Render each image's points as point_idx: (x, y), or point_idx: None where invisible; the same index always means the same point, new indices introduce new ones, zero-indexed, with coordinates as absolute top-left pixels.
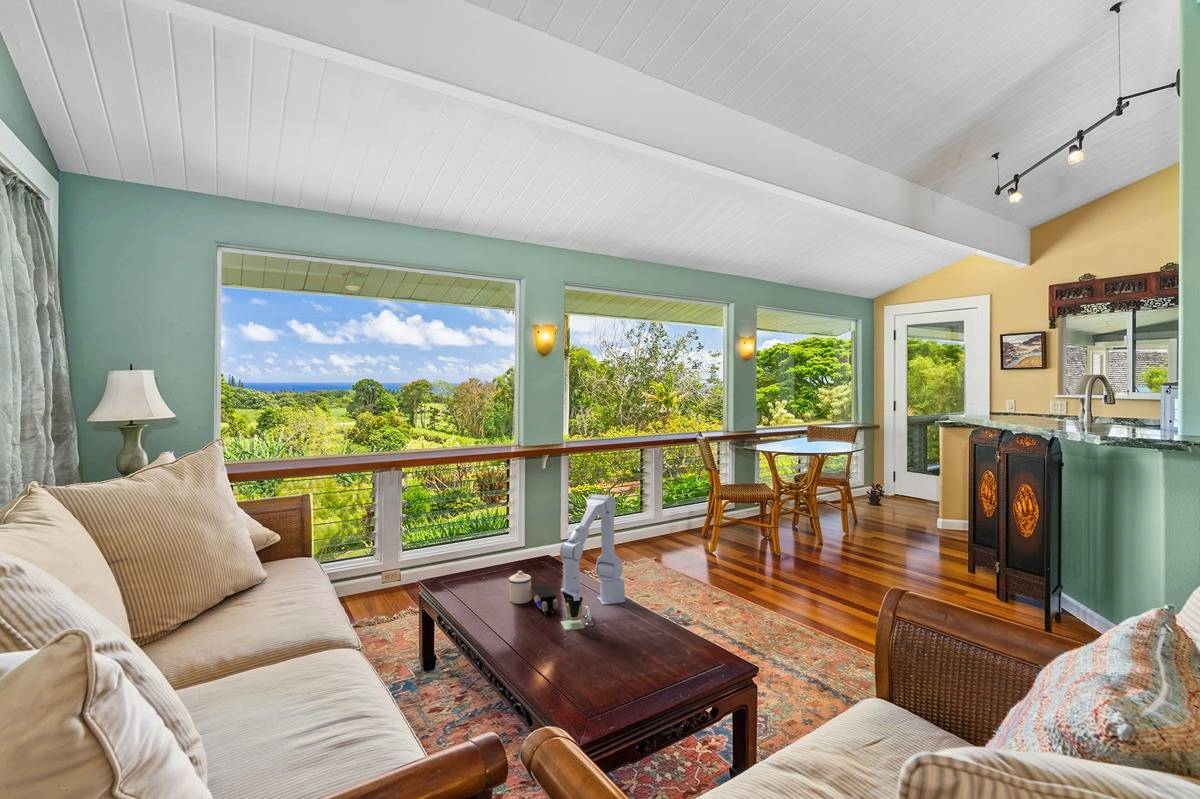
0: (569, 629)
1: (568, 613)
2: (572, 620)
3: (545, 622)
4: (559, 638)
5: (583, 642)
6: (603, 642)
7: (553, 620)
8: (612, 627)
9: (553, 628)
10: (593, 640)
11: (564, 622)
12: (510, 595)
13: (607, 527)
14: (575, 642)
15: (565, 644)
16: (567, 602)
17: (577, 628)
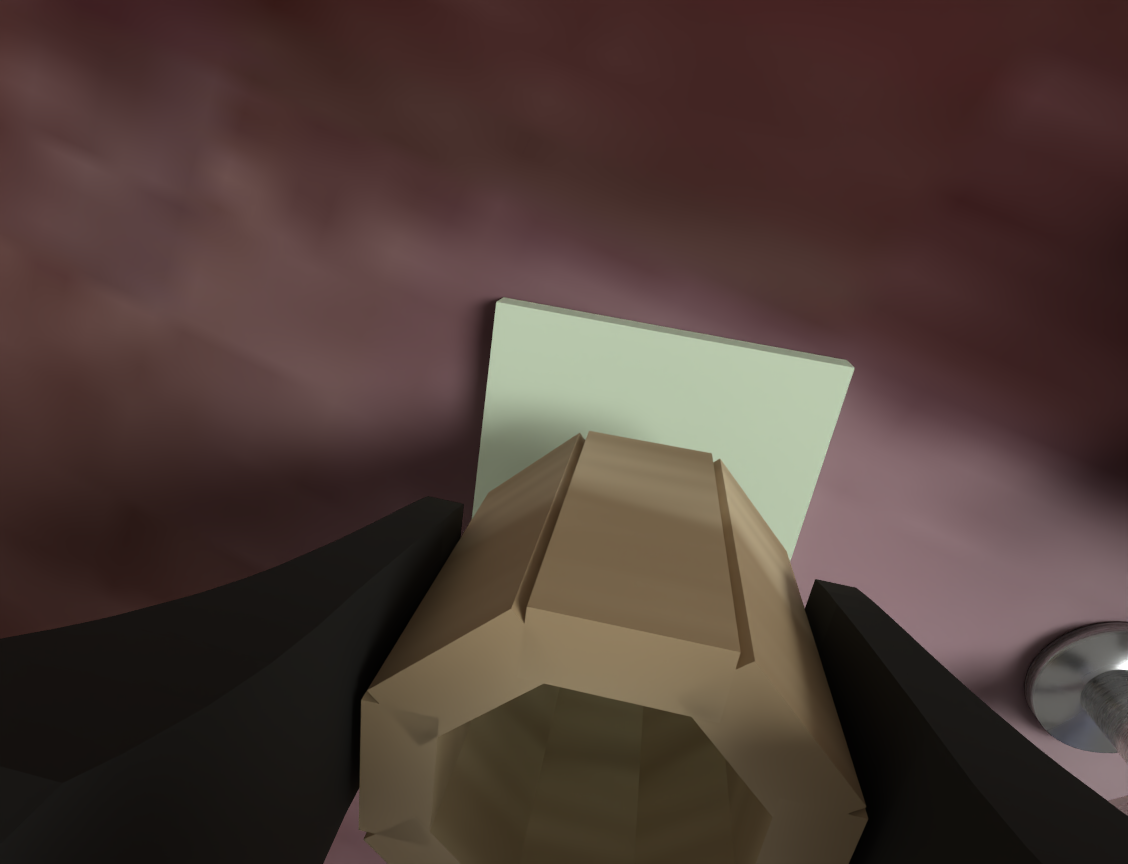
0: (490, 371)
1: (536, 503)
2: (491, 490)
3: (1089, 89)
4: (278, 88)
5: (68, 372)
6: (28, 570)
7: (1054, 287)
8: (356, 819)
9: (708, 143)
10: (97, 503)
11: (763, 407)
12: None
13: None
14: (88, 273)
15: (54, 100)
16: (796, 735)
17: (479, 492)
